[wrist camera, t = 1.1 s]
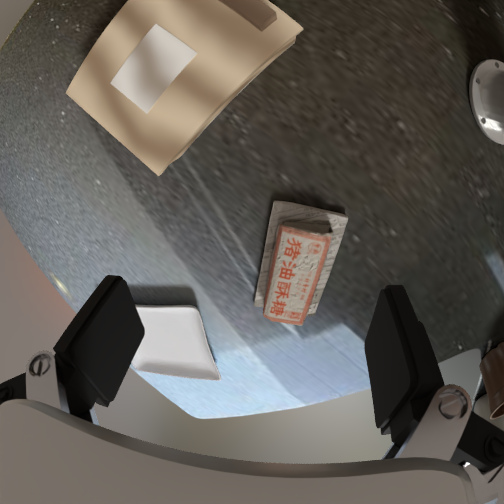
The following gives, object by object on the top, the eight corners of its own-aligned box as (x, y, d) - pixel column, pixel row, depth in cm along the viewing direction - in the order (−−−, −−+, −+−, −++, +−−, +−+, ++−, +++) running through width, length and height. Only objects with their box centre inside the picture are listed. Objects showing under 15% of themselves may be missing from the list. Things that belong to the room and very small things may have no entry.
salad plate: (103, 293, 50) (95, 304, 47) (201, 294, 46) (196, 308, 43) (141, 360, 61) (136, 371, 58) (225, 368, 57) (222, 381, 54)
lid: (182, -48, 15) (171, -60, 12) (302, 30, 19) (304, 21, 17) (69, 92, 24) (51, 95, 21) (161, 173, 29) (148, 183, 26)
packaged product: (315, 332, 41) (250, 322, 42) (313, 310, 45) (254, 301, 46) (354, 228, 32) (271, 212, 32) (347, 212, 36) (273, 197, 36)
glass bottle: (499, 385, 57) (519, 450, 33) (485, 400, 62) (501, 463, 39) (481, 391, 58) (500, 461, 35) (466, 406, 64) (482, 472, 40)
